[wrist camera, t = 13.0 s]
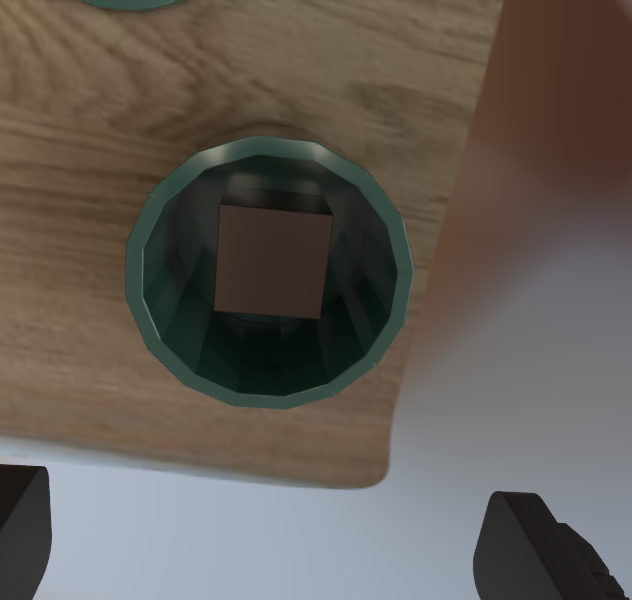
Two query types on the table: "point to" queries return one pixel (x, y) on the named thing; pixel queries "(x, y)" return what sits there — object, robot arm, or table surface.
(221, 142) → the tin
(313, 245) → the block
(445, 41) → the table surface
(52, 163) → the table surface
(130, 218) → the table surface
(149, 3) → the lid
